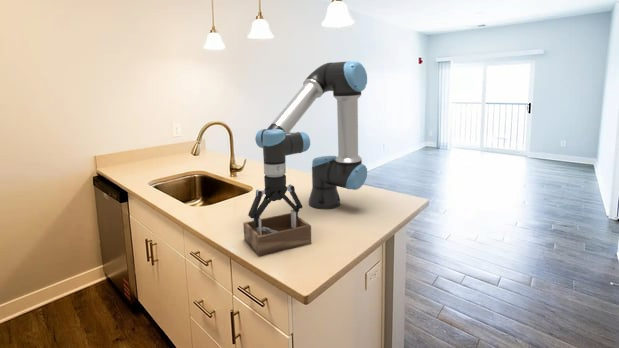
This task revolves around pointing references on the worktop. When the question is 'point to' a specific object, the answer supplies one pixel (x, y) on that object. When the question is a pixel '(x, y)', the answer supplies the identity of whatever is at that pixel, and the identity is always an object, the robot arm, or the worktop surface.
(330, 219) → the worktop surface
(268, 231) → the mineral specimen
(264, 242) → the walnut well
